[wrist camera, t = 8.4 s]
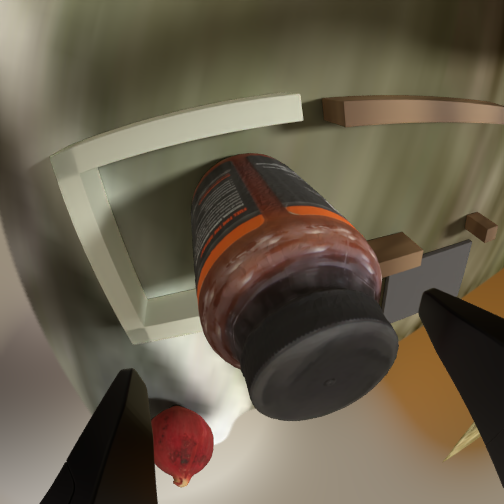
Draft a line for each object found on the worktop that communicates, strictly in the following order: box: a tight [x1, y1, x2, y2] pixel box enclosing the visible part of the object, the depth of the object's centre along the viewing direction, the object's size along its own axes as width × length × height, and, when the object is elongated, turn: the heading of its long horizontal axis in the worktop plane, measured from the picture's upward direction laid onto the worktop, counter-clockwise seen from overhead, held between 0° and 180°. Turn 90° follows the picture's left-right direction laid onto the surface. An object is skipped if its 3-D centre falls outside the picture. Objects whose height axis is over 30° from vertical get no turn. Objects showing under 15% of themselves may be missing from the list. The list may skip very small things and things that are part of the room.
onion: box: [151, 406, 213, 487], centre depth 21 cm, size 6×6×8 cm
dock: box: [50, 92, 303, 345], centre depth 15 cm, size 11×11×2 cm
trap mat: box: [382, 240, 472, 323], centre depth 22 cm, size 9×6×1 cm, turn 99°
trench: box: [322, 95, 504, 278], centre depth 16 cm, size 14×10×2 cm
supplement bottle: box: [191, 153, 399, 421], centre depth 12 cm, size 6×6×11 cm
